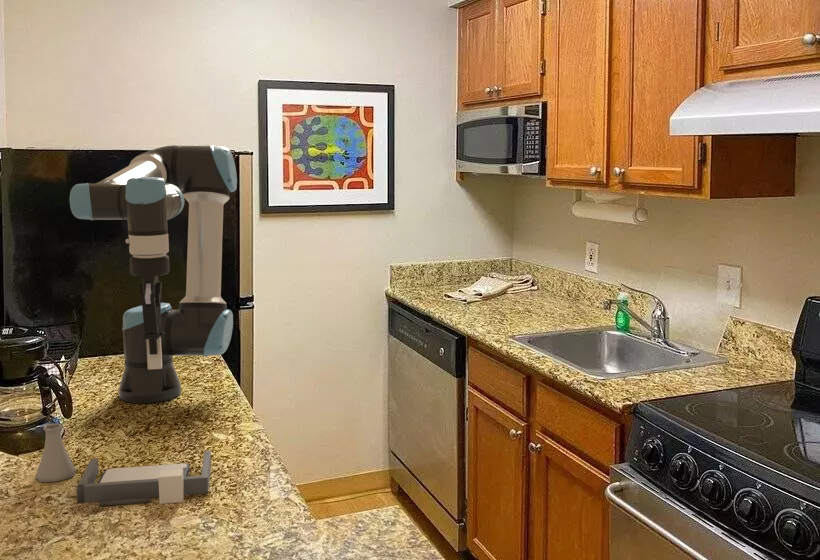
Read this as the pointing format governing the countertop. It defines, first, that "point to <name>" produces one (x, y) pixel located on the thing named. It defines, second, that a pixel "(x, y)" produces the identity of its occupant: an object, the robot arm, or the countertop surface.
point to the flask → (54, 457)
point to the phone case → (140, 472)
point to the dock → (143, 486)
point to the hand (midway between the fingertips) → (155, 367)
